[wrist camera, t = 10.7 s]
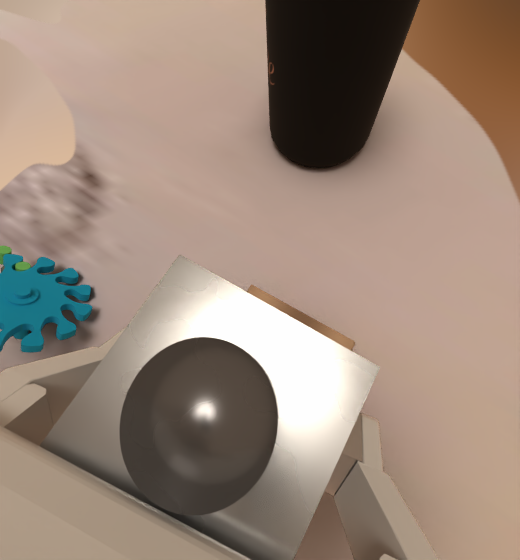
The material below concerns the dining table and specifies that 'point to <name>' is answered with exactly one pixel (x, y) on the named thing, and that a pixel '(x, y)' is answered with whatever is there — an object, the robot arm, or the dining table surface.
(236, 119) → the dining table surface
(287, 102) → the coffee jar
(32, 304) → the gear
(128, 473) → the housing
